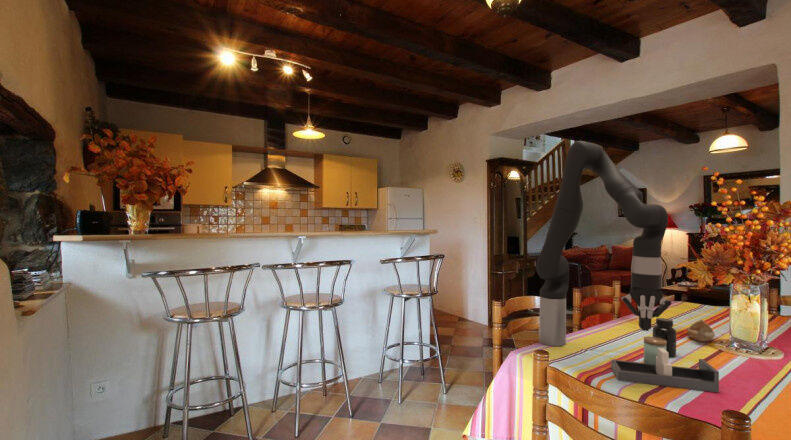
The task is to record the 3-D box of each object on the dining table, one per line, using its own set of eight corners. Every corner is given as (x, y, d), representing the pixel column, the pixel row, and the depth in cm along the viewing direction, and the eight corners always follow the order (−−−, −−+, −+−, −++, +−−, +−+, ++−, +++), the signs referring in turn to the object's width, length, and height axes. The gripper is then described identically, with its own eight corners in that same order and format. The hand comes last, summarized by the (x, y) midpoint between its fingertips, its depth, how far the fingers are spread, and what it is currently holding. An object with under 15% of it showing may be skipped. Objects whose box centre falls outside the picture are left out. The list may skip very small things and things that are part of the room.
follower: (663, 381, 110) (663, 354, 110) (655, 372, 117) (655, 346, 116) (671, 382, 109) (672, 355, 109) (663, 372, 116) (663, 346, 116)
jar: (646, 366, 123) (646, 341, 123) (641, 359, 129) (641, 335, 129) (669, 369, 121) (669, 343, 121) (662, 362, 127) (663, 337, 127)
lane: (618, 380, 112) (618, 361, 112) (611, 367, 122) (611, 349, 122) (718, 392, 104) (718, 372, 104) (702, 378, 114) (702, 359, 114)
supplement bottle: (680, 358, 130) (680, 322, 130) (657, 356, 131) (658, 321, 131) (670, 351, 137) (670, 317, 137) (648, 349, 138) (649, 316, 138)
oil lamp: (686, 344, 145) (686, 317, 145) (686, 331, 162) (686, 307, 162) (716, 349, 140) (717, 321, 140) (712, 334, 157) (713, 310, 157)
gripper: (623, 272, 113) (622, 331, 113) (677, 275, 108) (675, 336, 109) (618, 268, 120) (616, 324, 120) (668, 271, 115) (666, 329, 116)
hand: (644, 330), depth 114 cm, fingers closed
